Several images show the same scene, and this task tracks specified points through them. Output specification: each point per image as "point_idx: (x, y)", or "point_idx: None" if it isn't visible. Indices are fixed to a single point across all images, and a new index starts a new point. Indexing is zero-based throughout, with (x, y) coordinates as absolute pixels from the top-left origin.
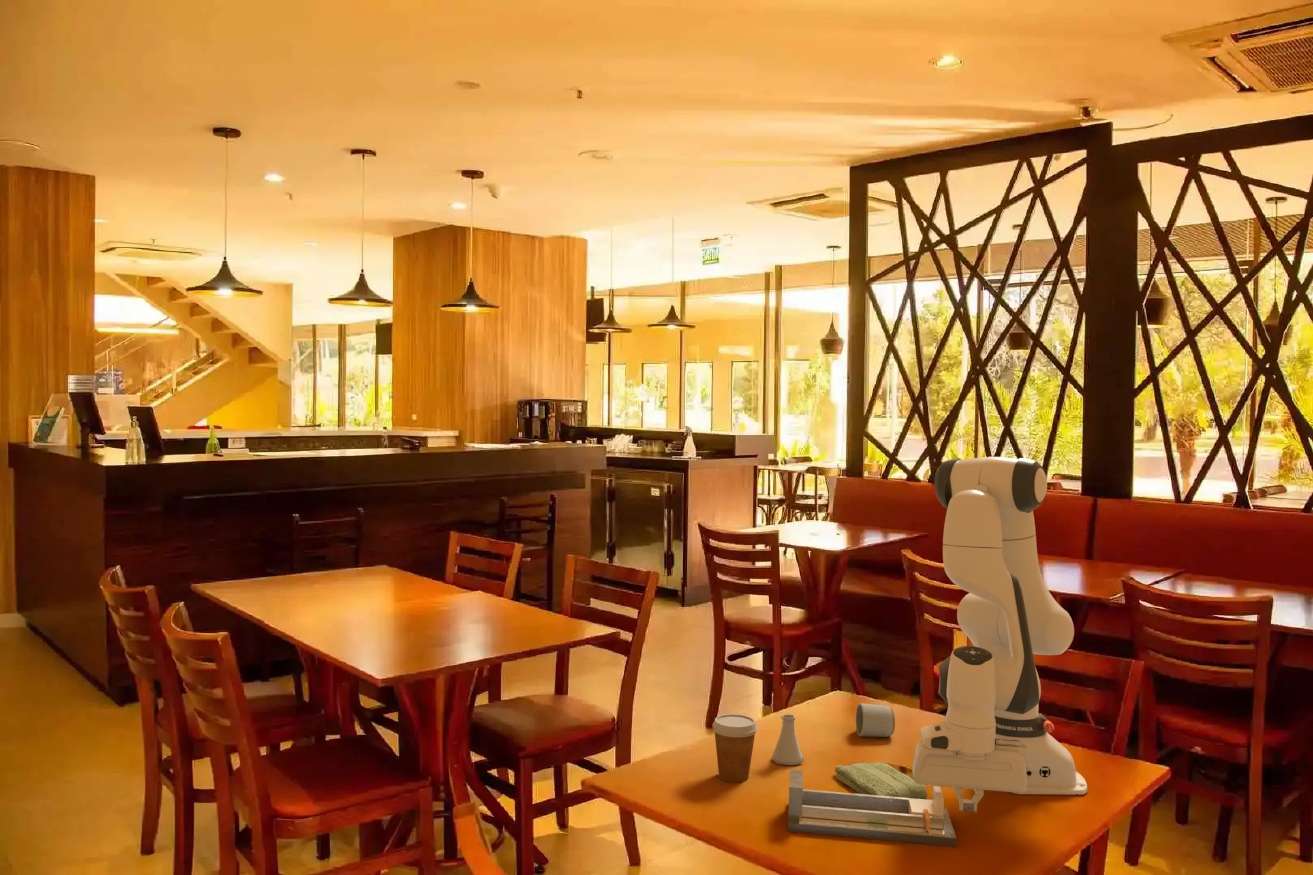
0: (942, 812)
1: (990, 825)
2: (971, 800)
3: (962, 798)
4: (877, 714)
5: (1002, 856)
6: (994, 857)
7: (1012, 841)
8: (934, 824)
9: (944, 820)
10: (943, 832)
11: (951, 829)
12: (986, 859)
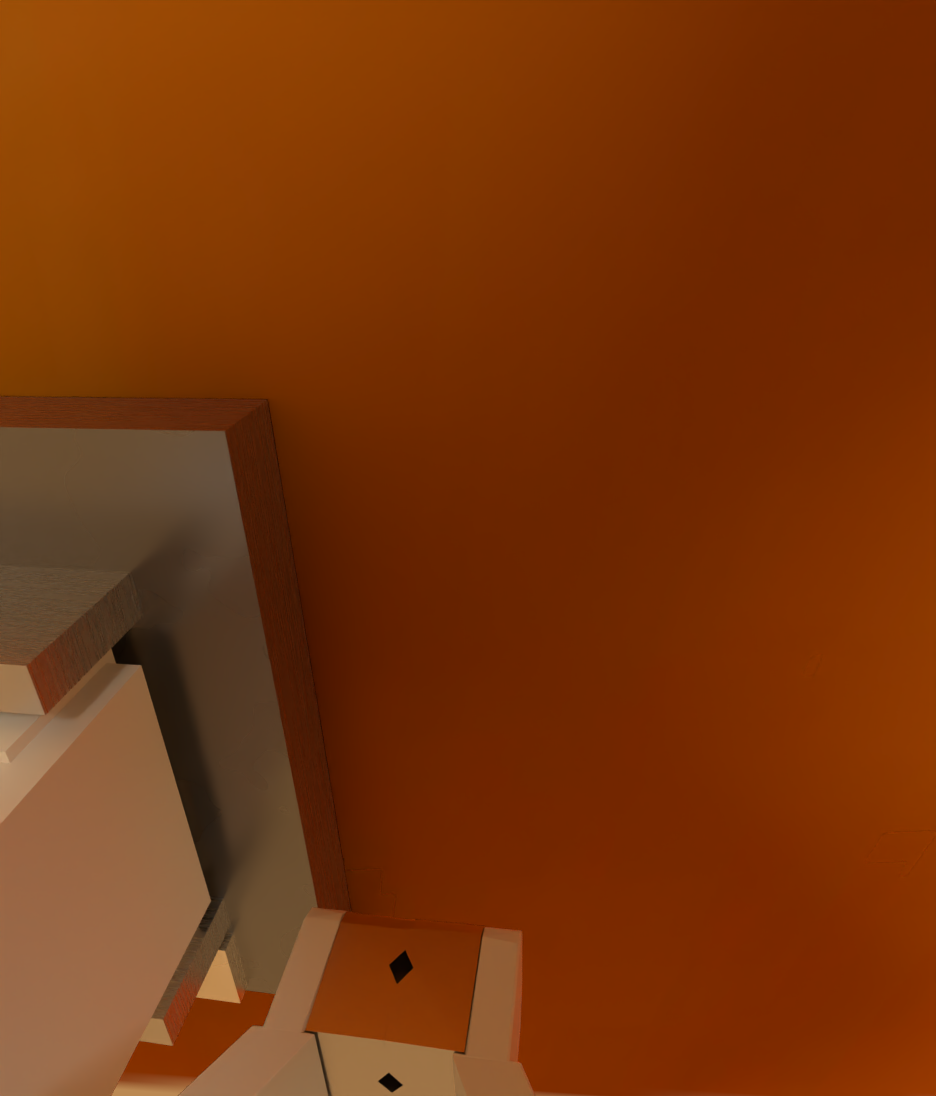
0: (134, 1035)
1: (772, 555)
2: (445, 1072)
3: (302, 1087)
4: None
5: (674, 1035)
6: (609, 1043)
7: (871, 855)
8: None
9: (224, 740)
10: (228, 973)
11: (296, 887)
12: (545, 1059)
